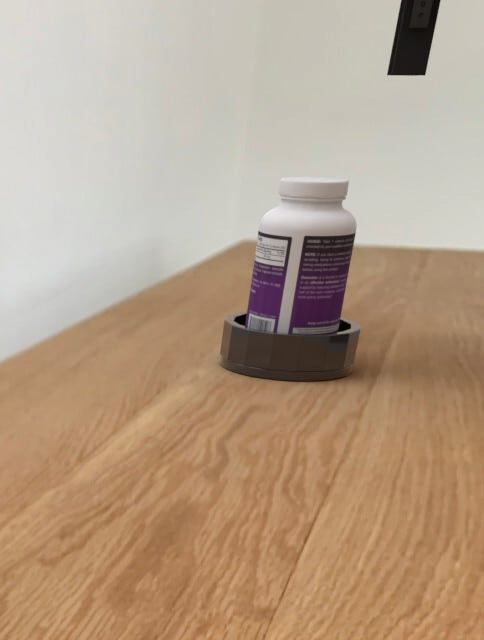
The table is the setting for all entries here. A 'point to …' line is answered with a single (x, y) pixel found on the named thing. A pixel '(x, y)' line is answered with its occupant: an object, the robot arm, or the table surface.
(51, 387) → the table surface
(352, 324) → the ring
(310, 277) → the pill bottle
